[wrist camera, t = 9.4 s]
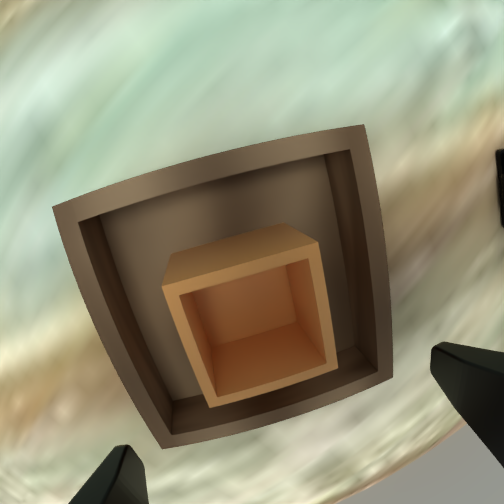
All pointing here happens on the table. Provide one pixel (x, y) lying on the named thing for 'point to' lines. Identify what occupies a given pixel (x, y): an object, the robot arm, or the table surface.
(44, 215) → the table surface
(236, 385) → the small crate
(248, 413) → the walnut crate
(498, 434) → the robot arm
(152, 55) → the table surface
